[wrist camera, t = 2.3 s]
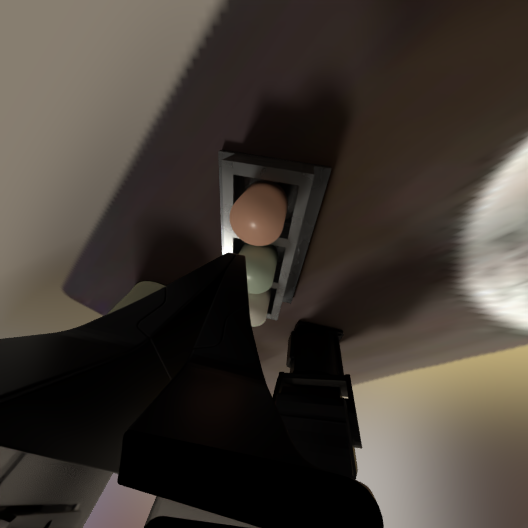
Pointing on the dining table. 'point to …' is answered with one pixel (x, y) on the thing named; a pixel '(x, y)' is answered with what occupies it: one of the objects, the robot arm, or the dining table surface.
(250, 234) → the brown egg
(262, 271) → the green rounded piece
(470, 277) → the dining table surface
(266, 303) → the white egg
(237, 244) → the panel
